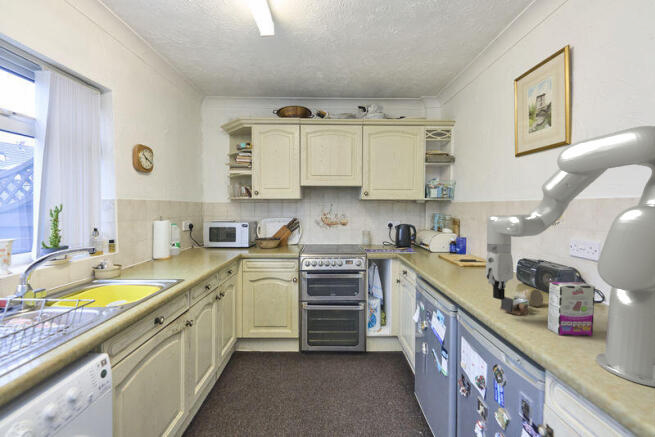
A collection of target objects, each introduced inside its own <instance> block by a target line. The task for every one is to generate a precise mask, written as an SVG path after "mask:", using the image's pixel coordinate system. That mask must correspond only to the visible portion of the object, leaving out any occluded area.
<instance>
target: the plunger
mask: <svg viewBox="0 0 655 437" xmlns="http://www.w3.org/2000/svg"><path fill="white" fill-rule="evenodd" d="M513 298H514V300H513ZM513 298H511V297H508V296H505V299H503V300H500V307H501V309H503V310H502V311H504V310H506V311H509V312H512V311H513V310H517V309H519V304H522V303H527V304H528V309H529V306H530V305H529V300H527V299H524V298H521V297H517V296H515V295H514V296H513ZM501 309H500V310H501ZM506 311H505V312H506ZM509 312H508V313H509Z"/></svg>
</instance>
